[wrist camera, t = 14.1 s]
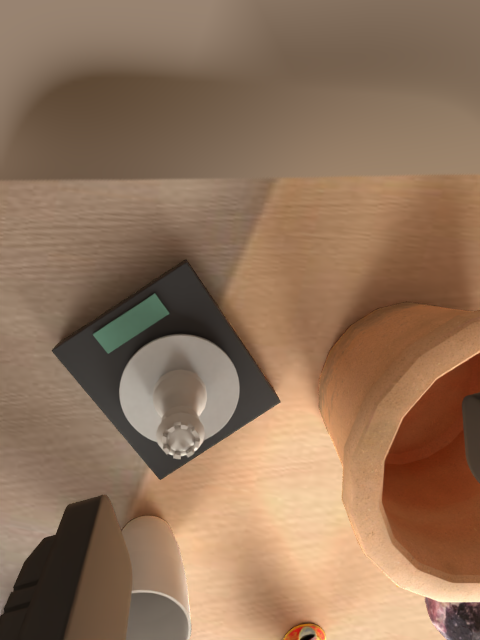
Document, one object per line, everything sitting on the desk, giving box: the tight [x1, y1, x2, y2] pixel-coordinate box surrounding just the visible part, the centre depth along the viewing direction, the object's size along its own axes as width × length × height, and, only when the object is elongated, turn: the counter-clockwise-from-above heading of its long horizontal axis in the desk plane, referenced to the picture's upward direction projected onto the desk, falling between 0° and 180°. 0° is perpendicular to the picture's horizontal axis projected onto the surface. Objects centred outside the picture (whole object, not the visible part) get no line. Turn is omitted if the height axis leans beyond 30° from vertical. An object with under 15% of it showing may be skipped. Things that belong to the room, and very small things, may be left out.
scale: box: [52, 260, 280, 480], centre depth 36 cm, size 15×13×3 cm
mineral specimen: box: [425, 597, 480, 640], centre depth 44 cm, size 10×10×10 cm
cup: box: [121, 516, 191, 640], centre depth 37 cm, size 8×8×10 cm
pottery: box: [318, 302, 480, 602], centre depth 34 cm, size 22×22×14 cm
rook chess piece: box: [153, 369, 207, 459], centre depth 31 cm, size 4×4×8 cm
